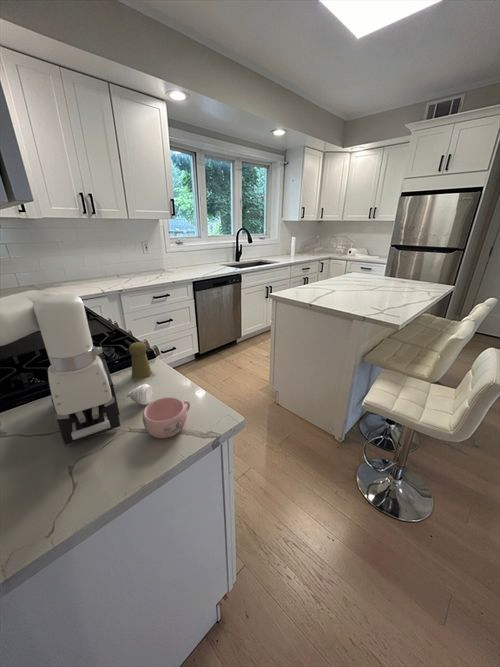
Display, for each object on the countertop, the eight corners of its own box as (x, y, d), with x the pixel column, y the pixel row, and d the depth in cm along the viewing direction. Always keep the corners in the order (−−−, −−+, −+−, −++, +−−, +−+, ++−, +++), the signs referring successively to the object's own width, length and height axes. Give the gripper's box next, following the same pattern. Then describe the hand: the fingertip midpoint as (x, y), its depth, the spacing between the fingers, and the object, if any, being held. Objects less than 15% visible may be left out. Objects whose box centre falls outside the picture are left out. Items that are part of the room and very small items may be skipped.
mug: (159, 451, 61) (155, 429, 58) (137, 429, 67) (133, 409, 65) (202, 423, 69) (201, 404, 66) (179, 406, 75) (177, 388, 73)
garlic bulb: (133, 396, 79) (130, 379, 77) (154, 396, 79) (151, 380, 77) (124, 408, 74) (121, 391, 72) (146, 408, 74) (144, 391, 72)
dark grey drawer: (124, 439, 62) (118, 411, 60) (65, 461, 57) (55, 431, 54) (111, 396, 78) (106, 372, 75) (63, 410, 72) (55, 384, 69)
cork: (135, 381, 86) (130, 349, 82) (129, 373, 91) (124, 343, 86) (154, 375, 90) (150, 344, 86) (147, 367, 94) (143, 338, 90)
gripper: (111, 343, 61) (125, 411, 68) (27, 360, 53) (52, 434, 60) (118, 356, 55) (132, 429, 62) (24, 377, 47) (52, 457, 54)
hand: (93, 431), depth 61 cm, fingers closed
